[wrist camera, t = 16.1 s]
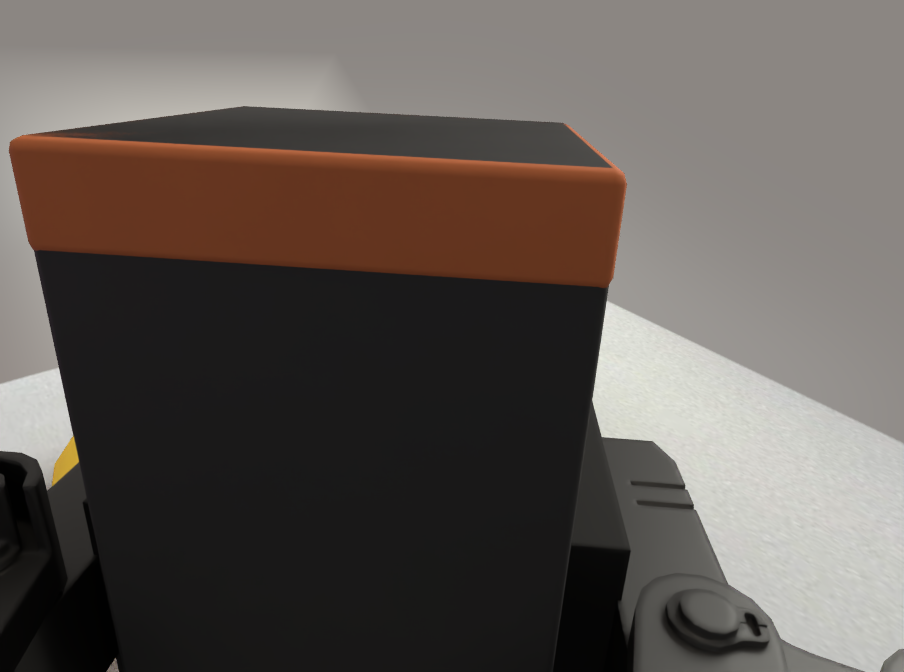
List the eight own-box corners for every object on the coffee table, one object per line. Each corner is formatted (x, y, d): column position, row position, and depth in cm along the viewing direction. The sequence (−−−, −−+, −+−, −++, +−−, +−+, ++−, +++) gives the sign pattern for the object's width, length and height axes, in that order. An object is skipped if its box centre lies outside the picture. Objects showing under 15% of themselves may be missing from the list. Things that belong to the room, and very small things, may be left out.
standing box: (502, 745, 12) (570, 122, 8) (499, 1053, 8) (632, 172, 4) (288, 722, 12) (240, 105, 8) (191, 1013, 8) (-1, 135, 4)
